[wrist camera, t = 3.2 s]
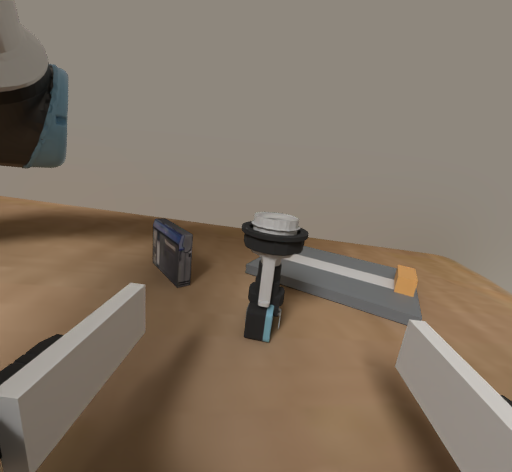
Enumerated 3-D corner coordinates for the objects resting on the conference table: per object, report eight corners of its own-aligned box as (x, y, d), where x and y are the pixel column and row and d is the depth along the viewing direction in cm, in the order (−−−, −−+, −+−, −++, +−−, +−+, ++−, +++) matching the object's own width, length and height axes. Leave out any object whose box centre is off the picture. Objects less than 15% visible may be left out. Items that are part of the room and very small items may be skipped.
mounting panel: (245, 272, 34) (247, 249, 33) (287, 248, 47) (289, 231, 46) (418, 329, 25) (427, 299, 24) (410, 279, 38) (416, 259, 37)
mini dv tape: (152, 262, 34) (153, 218, 32) (163, 261, 35) (164, 218, 33) (177, 288, 28) (179, 235, 26) (190, 285, 29) (192, 234, 27)
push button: (242, 299, 27) (252, 205, 24) (292, 308, 26) (308, 213, 24) (225, 338, 21) (236, 217, 18) (290, 351, 20) (311, 227, 17)
